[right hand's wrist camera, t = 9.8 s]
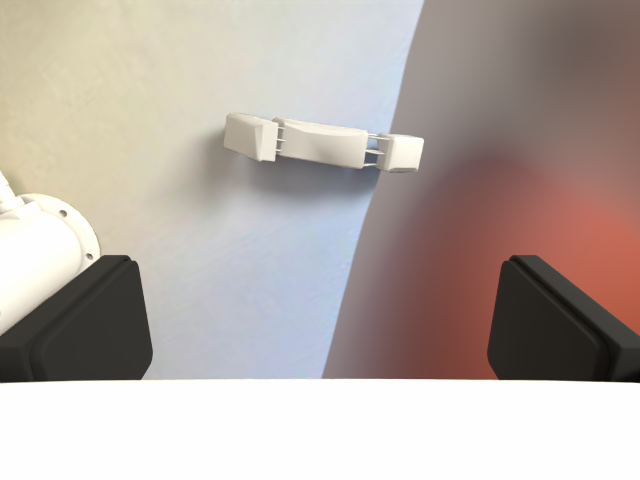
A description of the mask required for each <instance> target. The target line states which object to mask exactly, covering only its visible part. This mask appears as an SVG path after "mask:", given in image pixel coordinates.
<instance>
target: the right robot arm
mask: <svg viewBox="0 0 640 480" xmlns="http://www.w3.org/2000/svg"><path fill="white" fill-rule="evenodd" d="M48 297H50V298H48ZM47 298H48V299H47ZM46 299H47V300H46ZM45 300H46V301H45ZM43 301H45V302H43ZM42 302H43V303H42ZM41 303H42V304H41ZM39 304H41V305H40V306H38V305H39ZM37 306H38V307H37ZM36 307H37V308H36ZM34 308H36V309H34ZM33 309H34V310H33ZM32 310H33V311H32ZM31 311H32V312H31ZM29 312H31V313H29ZM28 313H29V314H28ZM27 314H28V315H27ZM25 315H27V316H26V317H24V316H25ZM23 317H24V318H23ZM22 318H23V319H22ZM20 319H22V320H20ZM19 320H20V321H19ZM18 321H19V322H18ZM17 322H18V323H17ZM15 323H17V324H15ZM14 324H15V325H14ZM13 325H14V326H13ZM11 326H13V327H12V328H10V327H11ZM9 328H10V329H9ZM8 329H9V330H8ZM6 330H8V331H7V332H5V331H6ZM4 332H5V333H4ZM2 333H4V334H3V335H1V334H2ZM0 335H1V336H0V480H640V336H639V335H637V334H636V333H635V332H633V331H632V330H631V329H630V328H628V327H627V326H626V325H625V324H623V323H622V322H621V321H620V320H618V319H617V318H616V317H614V316H613V315H612V314H611V313H609V312H608V311H607V310H606V309H604V308H603V307H602V306H600V305H599V304H598V303H597V302H595V301H594V300H593V299H592V298H590V297H589V296H588V295H586V294H585V293H584V292H583V291H581V290H580V289H579V288H578V287H576V286H575V285H574V284H573V283H571V282H570V281H569V280H568V279H566V278H565V277H564V276H562V275H561V274H560V273H559V272H557V271H556V270H555V269H554V268H552V267H551V266H550V265H549V264H547V263H546V262H545V261H543V260H542V259H541V258H540V257H538V256H536V255H513V256H511V257H510V259H509V261H504V262H503V264H502V267H501V272H500V278H499V284H498V290H497V296H496V302H495V308H494V314H493V320H492V325H491V331H490V337H489V343H488V350H487V356H488V361H489V364H490V366H491V367H492V369H493V371H494V372H495V374H496V376H497V377H498V379H499V380H418V379H416V380H415V379H207V380H141V379H142V377H143V376H144V374H145V372H146V371H147V369H148V368H149V366H150V364H151V361H152V356H153V350H152V343H151V337H150V331H149V325H148V319H147V313H146V307H145V302H144V296H143V290H142V284H141V278H140V272H139V267H138V264H137V262H136V261H131V259H130V257H129V256H127V255H104V256H102V257H100V250H99V245H98V241H97V238H96V235H95V233H94V231H93V229H92V228H91V226H90V225H89V223H88V222H87V221H86V219H85V218H84V217H83V216H82V215H81V214H80V213H79V212H78V211H77V210H75V209H74V208H73V207H71V206H70V205H69V204H67V203H65V202H63V201H61V200H59V199H57V198H54V197H51V196H48V195H43V194H37V193H29V194H21V195H16V196H15V195H14V193H13V192H12V190H11V188H10V187H9V183H8V182H7V180H6V179H5V177H4V175H3V174H2V172H1V171H0Z"/></svg>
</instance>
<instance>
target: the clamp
mask: <svg viewBox="0 0 640 480" xmlns="http://www.w3.org/2000/svg"><path fill="white" fill-rule="evenodd" d="M372 136H377V137H372ZM368 138H372V139H377V141H378V151H376V150H369V149H366V148H367V142H368ZM423 143H424V140H423V139H422V138H417V137H413V136H409V135H394V134H378V135H376V134H369V133H368V131H366V130H361V129H355V128H348V127H341V126H334V125H327V124H321V123H314V122H307V121H301V120H294V119H287V118H280V117H276V118H274V119H273V120H272V121H269V120H265V119H262V118H258V117H255V116H251V115H247V114H242V113H229V114H228V115H227V117H226V127H225V137H224V147H225V148H226V149H229V150H232V151H234V152H237V153H239V154H242V155H244V156H247V157H249V158H251V159H254V160H256V161H259V162H260V161H262V160H263V161H270V162H275V155H276V154H277V155H279V156H282V157H288V158H294V159H299V160H305V161H312V162H318V163H325V164H331V165H337V166H342V167H348V168H353V169H361V168H362V167H364V166H371V165H372V166H376V168H378V169H381V170H384V171H386V172H391V173H404V172H417V170H418V166H419V162H420V157H421V152H422V148H423ZM366 152H368V153H373V154H377V161H376V164H371V163H365V162H364V159H365V153H366ZM364 164H365V165H364Z"/></svg>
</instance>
